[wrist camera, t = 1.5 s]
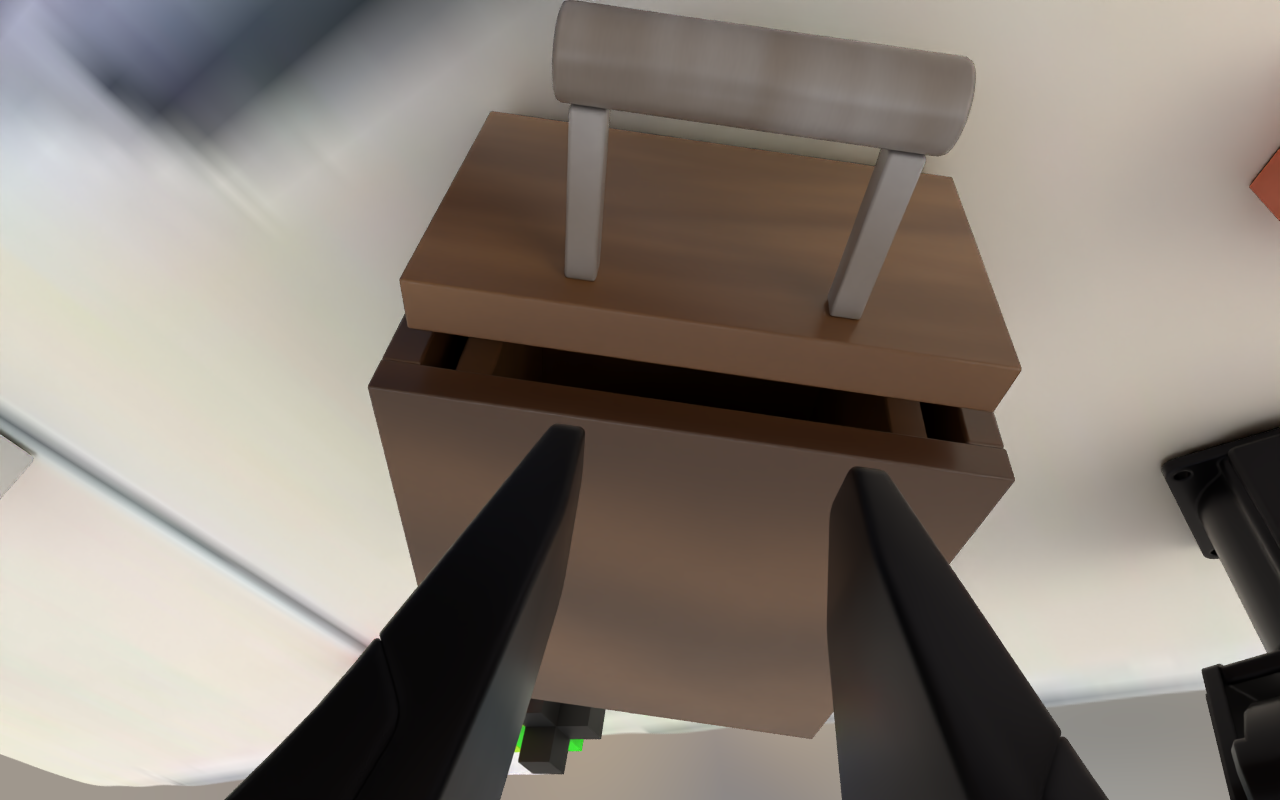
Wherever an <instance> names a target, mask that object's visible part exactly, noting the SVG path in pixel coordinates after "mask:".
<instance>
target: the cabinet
mask: <svg viewBox="0 0 1280 800" xmlns="http://www.w3.org/2000/svg"><path fill="white" fill-rule="evenodd" d="M467 340H468V337H467V336H460V335H453V334H446V333H440V332H433V331H426V330H419V329H412V328H408V326H407V320H406V315H405V314H404V316H403V318H402V320H401V322H400V324H399V326H398V328H397V330H396V332H395V334H394V336H393V338H392V340H391V342H390V344H389V346H388V348H387V350H386V352H385V354H384V356H383V358H382V359H383V360H381V361H380V363H379V365H378V367H377V369H376V371H375V373H374V375H373V377H372V379H371V381H370V383H369V385H368V390H369V394H370V398H371V402H372V406H373V410H374V414H375V418H376V422H377V426H378V430H379V434H380V438H381V442H382V446H383V450H384V454H385V458H386V462H387V465H388V469H389V473H390V477H391V481H392V485H393V489H394V493H395V497H396V501H397V505H398V509H399V513H400V517H401V521H402V525H403V529H404V533H405V537H406V541H407V545H408V549H409V553H410V557H411V561H412V565H413V569H414V573H415V577H416V581H417V585H418V586H419V585H420V583H421V582H422V581H423V580H424V579H425V577H426V576H427V575H428V574H429V573H430V571H431V570H432V569H433V568H434V566H435V565H436V564H437V563H438V562H439V560H440V559H441V558H442V557H443V556H444V554H445V553H446V552H447V551H448V549H449V548H450V547H451V546H452V545H453V543H454V542H455V541H456V540H457V539H458V537H459V536H460V535H461V534H462V533H463V531H464V530H465V529H466V528H467V526H468V525H469V524H470V523H471V522H472V520H473V519H474V518H475V517H476V516H477V514H478V513H479V512H480V511H481V509H482V508H483V507H484V506H485V505H486V503H487V502H488V501H489V500H490V499H491V497H492V496H493V495H494V494H495V493H496V491H497V490H498V489H499V488H500V486H501V485H502V484H503V483H504V482H505V480H506V479H507V478H508V477H509V476H510V474H511V473H512V472H513V471H514V469H515V468H516V467H517V466H518V465H519V463H520V462H521V461H522V460H523V459H524V457H525V456H526V455H527V454H528V452H529V451H530V450H531V449H532V448H533V446H534V445H535V444H536V443H537V442H538V440H539V439H540V438H541V437H542V436H543V434H544V433H545V432H546V431H547V429H548V428H549V427H550V426H552V425H553V424H557V423H559V424H566V425H573V426H580V427H582V428H583V429H584V430H585V447H584V463H583V474H582V482H581V488H580V494H579V499H578V505H577V511H576V517H575V523H574V529H573V535H572V541H571V547H570V552H569V558H568V564H567V570H566V576H565V580H564V585H563V590H562V594H561V598H560V602H559V605H558V609H557V612H556V616H555V619H554V622H553V626H552V629H551V632H550V636H549V639H548V642H547V646H546V649H545V652H544V656H543V659H542V662H541V666H540V669H539V672H538V675H537V679H536V682H535V685H534V689H533V692H532V695H531V698H532V699H539V700H546V701H553V702H559V703H566V704H573V705H580V706H587V707H594V708H601V709H608V710H615V711H622V712H628V713H635V714H642V715H649V716H656V717H663V718H670V719H677V720H684V721H691V722H697V723H704V724H711V725H718V726H725V727H732V728H739V729H746V730H753V731H760V732H767V733H773V734H780V735H787V736H795V737H801V738H808V739H812V738H813V737H814V736H815V734H816V733H817V732H818V731H819V729H820V728H821V727H822V726H823V724H824V723H825V722H826V721H827V719H828V718H829V717H830V716H831V714H832V713H833V712H834V708H833V697H832V687H831V676H830V665H829V654H828V641H827V589H828V552H829V519H830V511H831V507H832V504H833V501H834V499H835V497H836V495H837V493H838V491H839V489H840V487H841V485H842V483H843V481H844V479H845V477H846V475H847V473H848V472H849V470H850V469H851V468H852V467H855V466H860V467H867V468H874V469H880V470H883V471H885V472H886V473H887V474H888V475H889V476H890V477H891V479H892V480H893V482H894V483H895V485H896V486H897V488H898V489H899V491H900V492H901V494H902V495H903V497H904V498H905V500H906V501H907V503H908V504H909V506H910V507H911V509H912V510H913V512H914V513H915V514H916V516H917V517H918V519H919V520H920V522H921V523H922V525H923V526H924V528H925V529H926V531H927V532H928V534H929V535H930V537H931V538H932V540H933V541H934V543H935V544H936V546H937V547H938V549H939V550H940V552H941V553H942V555H943V556H944V558H945V559H946V560H947V562H948V563H949V564H950V563H951V561H952V560H953V559H954V558H955V556H956V555H957V554H958V552H959V551H960V550H961V549H962V547H963V546H964V545H965V544H966V542H967V541H968V540H969V538H970V537H971V536H972V535H973V533H974V532H975V531H976V530H977V528H978V527H979V526H980V524H981V523H982V522H983V521H984V519H985V518H986V517H987V516H988V514H989V513H990V512H991V510H992V509H993V508H994V507H995V505H996V504H997V503H998V502H999V500H1000V499H1001V498H1002V496H1003V495H1004V494H1005V493H1006V491H1007V490H1008V489H1009V488H1010V486H1011V485H1012V484H1013V482H1014V481H1015V477H1014V474H1013V471H1012V468H1011V464H1010V461H1009V458H1008V455H1007V452H1006V450H1005V449H1003V447H1004V445H1003V442H1002V439H1001V435H1000V432H999V429H998V426H997V422H996V419H995V416H994V413H993V412H987V411H980V410H974V409H967V408H960V407H953V406H946V405H939V404H932V403H925V402H920V406H921V411H922V415H923V420H924V425H925V429H926V434H927V438H923V437H917V436H910V435H903V434H896V433H889V432H882V431H875V430H868V429H861V428H854V427H847V426H840V425H833V424H826V423H819V422H813V421H806V420H799V419H792V418H785V417H778V416H771V415H764V414H757V413H750V412H743V411H736V410H729V409H722V408H716V407H709V406H702V405H695V404H688V403H681V402H674V401H667V400H660V399H653V398H646V397H639V396H632V395H625V394H618V393H612V392H605V391H598V390H591V389H584V388H577V387H570V386H563V385H556V384H549V383H542V382H535V381H528V380H521V379H514V378H508V377H501V376H494V375H487V374H480V373H473V372H466V371H459V370H456V367H457V365H458V362H459V360H460V357H461V355H462V352H463V350H464V347H465V345H466V342H467Z"/></svg>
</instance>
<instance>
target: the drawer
mask: <svg viewBox="0 0 1280 800" xmlns="http://www.w3.org/2000/svg"><path fill="white" fill-rule="evenodd" d="M975 81H976V72H975V66H974V63H973V61H972V60H970V59H969V58H967V57H965V56H958V55H951V54H944V53H937V52H930V51H923V50H916V49H909V48H902V47H895V46H888V45H881V44H875V43H868V42H861V41H854V40H847V39H840V38H833V37H826V36H819V35H812V34H805V33H798V32H791V31H784V30H777V29H770V28H763V27H756V26H749V25H742V24H735V23H728V22H721V21H714V20H707V19H700V18H693V17H686V16H679V15H672V14H665V13H658V12H651V11H645V10H638V9H631V8H624V7H617V6H610V5H603V4H596V3H589V2H582V1H575V0H567V1H564V2H563V4H562V6H561V8H560V11H559V13H558V17H557V22H556V27H555V34H554V43H553V55H552V83H553V90H554V94H555V97H556V99H557V100H558V101H560V102H562V103H569V104H571V106H570V109H569V122H563V121H556V120H550V119H543V118H536V117H529V116H522V115H515V114H508V113H501V112H494V111H491V112H490V113H489V115H488V117H487V119H486V121H485V123H484V125H483V126H482V128H481V130H480V132H479V134H478V136H477V137H476V139H475V141H474V143H473V145H472V147H471V148H470V150H469V152H468V154H467V156H466V158H465V159H464V161H463V163H462V165H461V167H460V169H459V171H458V172H457V174H456V176H455V178H454V180H453V182H452V183H451V185H450V187H449V189H448V191H447V193H446V194H445V196H444V198H443V200H442V202H441V204H440V205H439V207H438V209H437V211H436V213H435V215H434V217H433V218H432V220H431V222H430V224H429V226H428V228H427V229H426V231H425V233H424V235H423V237H422V239H421V240H420V242H419V244H418V246H417V248H416V250H415V251H414V253H413V255H412V257H411V259H410V261H409V263H408V264H407V266H406V268H405V270H404V272H403V274H402V275H401V277H400V280H399V281H400V287H401V292H402V298H403V303H404V309H405V315H406V320H407V326H408V328H412V329H419V330H426V331H433V332H440V333H446V334H453V335H460V336H467V337H468V340H467V342H466V345H465V347H464V350H463V352H462V355H461V357H460V360H459V362H458V365H457V367H456V370H459V371H466V372H473V373H480V374H487V375H494V376H501V377H508V378H514V379H521V380H528V381H535V382H542V383H549V384H556V385H563V386H570V387H577V388H584V389H591V390H598V391H605V392H612V393H618V394H625V395H632V396H639V397H646V398H653V399H660V400H667V401H674V402H681V403H688V404H695V405H702V406H709V407H716V408H722V409H729V410H736V411H743V412H750V413H757V414H764V415H771V416H778V417H785V418H792V419H799V420H806V421H813V422H819V423H826V424H833V425H840V426H847V427H854V428H861V429H868V430H875V431H882V432H889V433H896V434H903V435H910V436H917V437H923V438H927V434H926V429H925V425H924V420H923V415H922V411H921V406H920V402H925V403H932V404H939V405H946V406H953V407H960V408H967V409H974V410H980V411H987V412H993V411H994V410H995V409H996V407H997V406H998V404H999V403H1000V401H1001V400H1002V398H1003V397H1004V395H1005V394H1006V392H1007V391H1008V390H1009V388H1010V387H1011V385H1012V384H1013V382H1014V381H1015V379H1016V378H1017V376H1018V375H1019V373H1020V372H1021V365H1020V362H1019V359H1018V357H1017V354H1016V351H1015V349H1014V346H1013V343H1012V340H1011V338H1010V335H1009V332H1008V329H1007V327H1006V324H1005V321H1004V318H1003V316H1002V313H1001V310H1000V307H999V305H998V302H997V299H996V296H995V294H994V291H993V288H992V286H991V283H990V280H989V277H988V275H987V272H986V269H985V266H984V264H983V261H982V258H981V255H980V253H979V250H978V247H977V244H976V242H975V239H974V236H973V234H972V231H971V228H970V225H969V223H968V220H967V217H966V214H965V212H964V209H963V206H962V203H961V201H960V198H959V195H958V192H957V190H956V187H955V184H954V181H953V179H952V178H951V177H946V176H939V175H932V174H925V173H921V172H922V169H923V167H924V165H925V162H926V157H925V155H931V156H941V155H945V154H946V153H948V152H949V151H950V150H951V149H952V148H953V146H954V145H955V143H956V142H957V140H958V138H959V137H960V135H961V133H962V131H963V128H964V126H965V124H966V121H967V119H968V116H969V113H970V109H971V106H972V102H973V97H974V91H975ZM610 109H611V110H618V111H625V112H632V113H639V114H646V115H653V116H660V117H667V118H674V119H681V120H688V121H695V122H702V123H709V124H716V125H723V126H729V127H736V128H743V129H750V130H757V131H764V132H771V133H778V134H785V135H792V136H799V137H806V138H813V139H820V140H827V141H834V142H841V143H848V144H855V145H862V146H869V147H876V148H881V151H880V153H879V156H878V159H877V162H876V165H875V166H870V165H863V164H856V163H849V162H842V161H835V160H828V159H821V158H814V157H807V156H800V155H793V154H786V153H779V152H772V151H765V150H758V149H751V148H744V147H737V146H730V145H723V144H717V143H710V142H703V141H696V140H689V139H682V138H675V137H668V136H661V135H654V134H647V133H640V132H633V131H626V130H619V129H612V128H609V123H610Z"/></svg>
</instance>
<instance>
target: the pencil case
mask: <svg viewBox="0 0 1280 800" xmlns="http://www.w3.org/2000/svg"><path fill="white" fill-rule="evenodd" d="M1250 189H1251V190H1252V191H1253V192H1254V193H1255V194H1256V195H1257V196H1258V198H1259V199H1260V200H1261V201H1262V202H1263V203H1264V204H1265V205H1266V207H1267V208H1268V209H1269V210H1270V211H1271V212H1272V213H1273V214H1274V216H1275V217H1276V218H1277V219H1278V220H1279V221H1280V148H1279V149H1278V151H1277V152H1276V153H1275V155H1274V156H1273V157H1272V158H1271V160H1270V161H1269V162H1268V163H1267V165H1266V166H1265V167H1264V168H1263V170H1262V171H1261V172H1260V174H1259V175H1258V176H1257V177H1256V179H1255V180H1254V181H1253V182H1252V184H1251V185H1250Z"/></svg>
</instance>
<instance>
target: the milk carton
mask: <svg viewBox="0 0 1280 800" xmlns="http://www.w3.org/2000/svg"><path fill="white" fill-rule="evenodd" d="M33 459H34V458H33V457H32V456H31V455H30V454H28V453H27V452H25V451H24V450H23V449H21V448H20V447H18V446H17V445H15V444H14V443H12V442H11V441H9V440H8V439H6V438H5V437H4V436H2V435H1V434H0V499H1V498H2V497H3V496H4V494H5V493H6V492H7V491H8V490H9V489H10V488H11V486H12V485H13V484H14V483H15V482H16V481H17V479H18V478H19V477H20V476H21V475H22V474H23V473H24V471H25V470H26V469H27V468H28V467H29V466H30V464H31V463H32V462H33Z"/></svg>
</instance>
